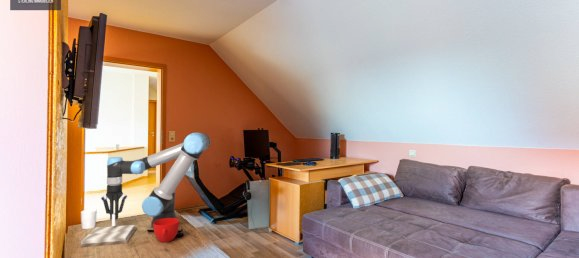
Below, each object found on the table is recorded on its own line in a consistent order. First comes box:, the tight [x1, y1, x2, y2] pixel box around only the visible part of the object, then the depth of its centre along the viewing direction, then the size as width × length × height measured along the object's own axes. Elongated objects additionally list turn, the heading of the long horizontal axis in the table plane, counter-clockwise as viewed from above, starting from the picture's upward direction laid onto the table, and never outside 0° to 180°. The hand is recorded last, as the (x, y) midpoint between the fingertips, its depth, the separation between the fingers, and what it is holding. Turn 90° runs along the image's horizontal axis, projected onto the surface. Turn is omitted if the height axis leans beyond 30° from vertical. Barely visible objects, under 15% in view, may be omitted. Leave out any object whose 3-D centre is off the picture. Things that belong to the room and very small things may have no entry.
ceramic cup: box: [153, 218, 180, 243], centre depth 156 cm, size 13×17×10 cm
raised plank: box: [89, 224, 135, 234], centre depth 165 cm, size 20×10×2 cm, turn 106°
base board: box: [77, 226, 137, 248], centre depth 160 cm, size 22×22×3 cm
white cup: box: [80, 208, 98, 230], centre depth 175 cm, size 8×8×10 cm
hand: (114, 225), depth 167 cm, fingers closed
